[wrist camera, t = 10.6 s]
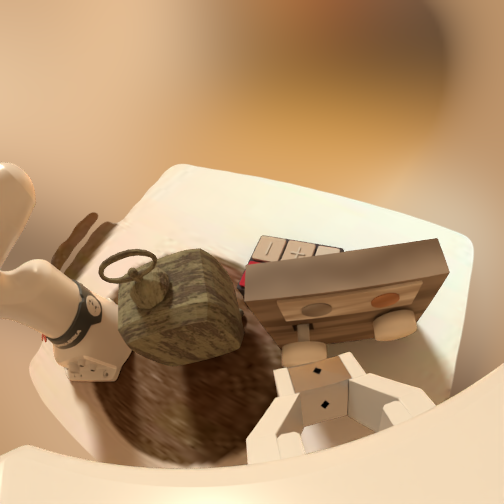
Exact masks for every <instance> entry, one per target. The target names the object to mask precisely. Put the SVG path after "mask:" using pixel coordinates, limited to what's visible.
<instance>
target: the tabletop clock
mask: <svg viewBox="0 0 504 504" xmlns="http://www.w3.org/2000/svg"><path fill="white" fill-rule="evenodd" d="M136 255H140V256H147V257H150V258H152V260H153V261H151V262H149V263H147V264H145V265H143V266H141V267H139V268H137V269H135V268H130V269H129V270H128V273H127V274H126V275H124V276H123V277H121V278H107V277H105V276H104V273H103V272H104V269H105V268H106V267H107V266H108V265H110V264H112V263H114V262H116V261H118V260H120V259H123V258H126V257H129V256H136ZM99 275H100V277H101V278H102V279H103V280H104V281H106V282H109V283H116V284H119V294H118V331H119V333H120V335H121V336H122V338H123V340H124V341H125V343H126V345H127V346H128V347H129V348H130V349H131V350H133V351H134V352H136V353H138V354H140V355H142V356H144V357H146V358H148V359H150V360H153V361H156V362H158V363H161V364H164V365H169V366H179V365H185V364H190V363H194V362H198V361H202V360H207V359H210V358H213V357H217V356H220V355H224V354H227V353H230V352H233V351H235V350H237V349H239V348H240V346H241V343H242V340H243V337H244V333H245V332H244V328H243V324H242V319H241V317H243V314H244V313H243V310H241V309H239V307H238V303H237V298H236V294H235V290H234V286H233V282H232V280H231V279H230V277H229V275H228V273H227V271H226V270H225V269H224V268H223V267H222V265H221V264H220V263H219V262H218V261H217V260H216V259H215V258H214V257H213V256H212V255H210V254H209V253H207V252H206V251H204V250H202V249H190V250H184V251H180V252H177V253H174V254H171V255H168V256H165V257H162V258H159V259H157V257H156V256H155V255H154V254H153V253H151V252H149V251H147V250H141V249H131V250H126V251H122V252H119V253H117V254H115V255H113V256H110V257H109V258H108V259H106V260H105V261H103V262H102V264H101V265H100V267H99Z"/></svg>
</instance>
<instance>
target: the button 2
mask: <svg viewBox="0 0 504 504" xmlns="http://www.w3.org/2000/svg"><path fill="white" fill-rule="evenodd" d="M373 326H374V334H375V340H377V341H392V340H396V339H400V338H403V337H406V336H408V335H411V334H412V333H414V332H415V331H416V330H417V326H416V321H415V316H414V312H413V311H411V310H398V311H393V312H389V313H387V314H384V315H382V316H380V317H378V318H376V319H375V320H374V321H373Z"/></svg>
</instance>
